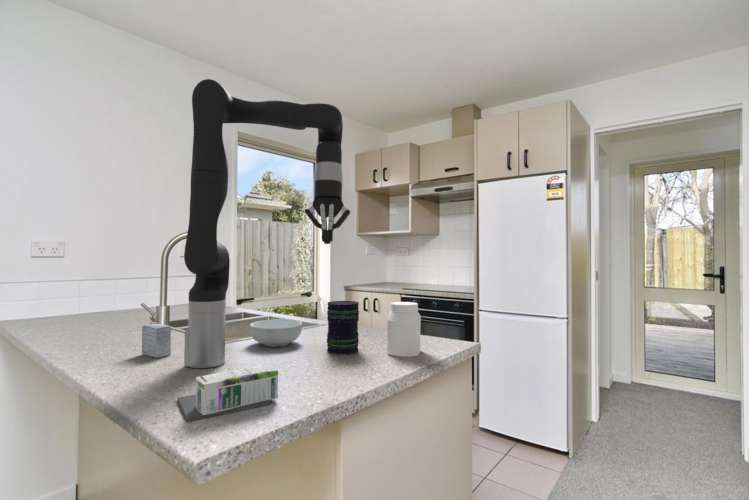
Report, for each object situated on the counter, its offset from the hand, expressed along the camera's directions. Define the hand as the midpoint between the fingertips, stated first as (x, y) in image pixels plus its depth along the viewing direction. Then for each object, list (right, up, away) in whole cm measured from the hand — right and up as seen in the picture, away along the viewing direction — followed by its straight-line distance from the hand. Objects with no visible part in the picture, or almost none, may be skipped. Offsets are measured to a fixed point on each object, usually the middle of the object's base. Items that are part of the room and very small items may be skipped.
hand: (327, 243), depth 108 cm
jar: (+22, -33, +13) cm, 42 cm away
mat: (-17, -32, -30) cm, 47 cm away
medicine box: (-51, -33, +7) cm, 61 cm away
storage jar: (+3, -33, +14) cm, 36 cm away
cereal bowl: (-20, -33, +23) cm, 45 cm away
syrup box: (-8, -29, -26) cm, 40 cm away
